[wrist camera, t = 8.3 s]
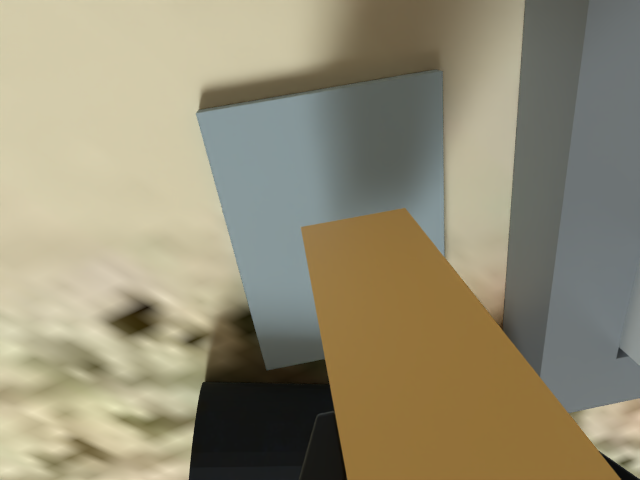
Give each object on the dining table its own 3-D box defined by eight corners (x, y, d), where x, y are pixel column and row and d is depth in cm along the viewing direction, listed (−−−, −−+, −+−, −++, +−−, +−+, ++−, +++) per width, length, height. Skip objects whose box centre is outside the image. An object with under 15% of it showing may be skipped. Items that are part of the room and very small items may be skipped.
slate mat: (435, 69, 14) (442, 71, 14) (440, 326, 19) (445, 335, 19) (198, 110, 14) (195, 113, 13) (266, 360, 19) (266, 370, 18)
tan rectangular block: (405, 207, 12) (696, 573, 4) (412, 343, 14) (605, 749, 6) (300, 227, 12) (378, 644, 4) (325, 360, 14) (406, 797, 6)
